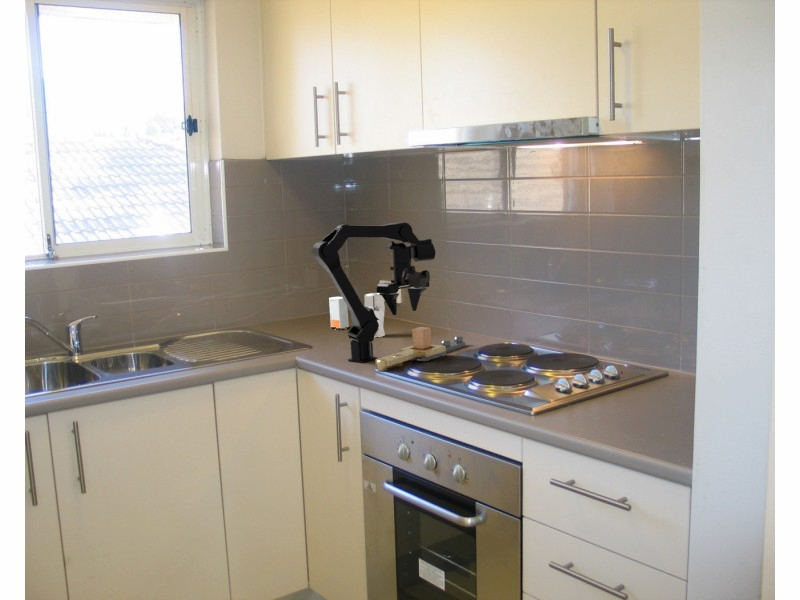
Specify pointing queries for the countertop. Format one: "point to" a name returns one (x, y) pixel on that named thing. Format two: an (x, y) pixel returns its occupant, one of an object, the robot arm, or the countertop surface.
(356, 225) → the robot arm
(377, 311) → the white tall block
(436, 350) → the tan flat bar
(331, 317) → the skincare box
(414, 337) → the reddish tan block
